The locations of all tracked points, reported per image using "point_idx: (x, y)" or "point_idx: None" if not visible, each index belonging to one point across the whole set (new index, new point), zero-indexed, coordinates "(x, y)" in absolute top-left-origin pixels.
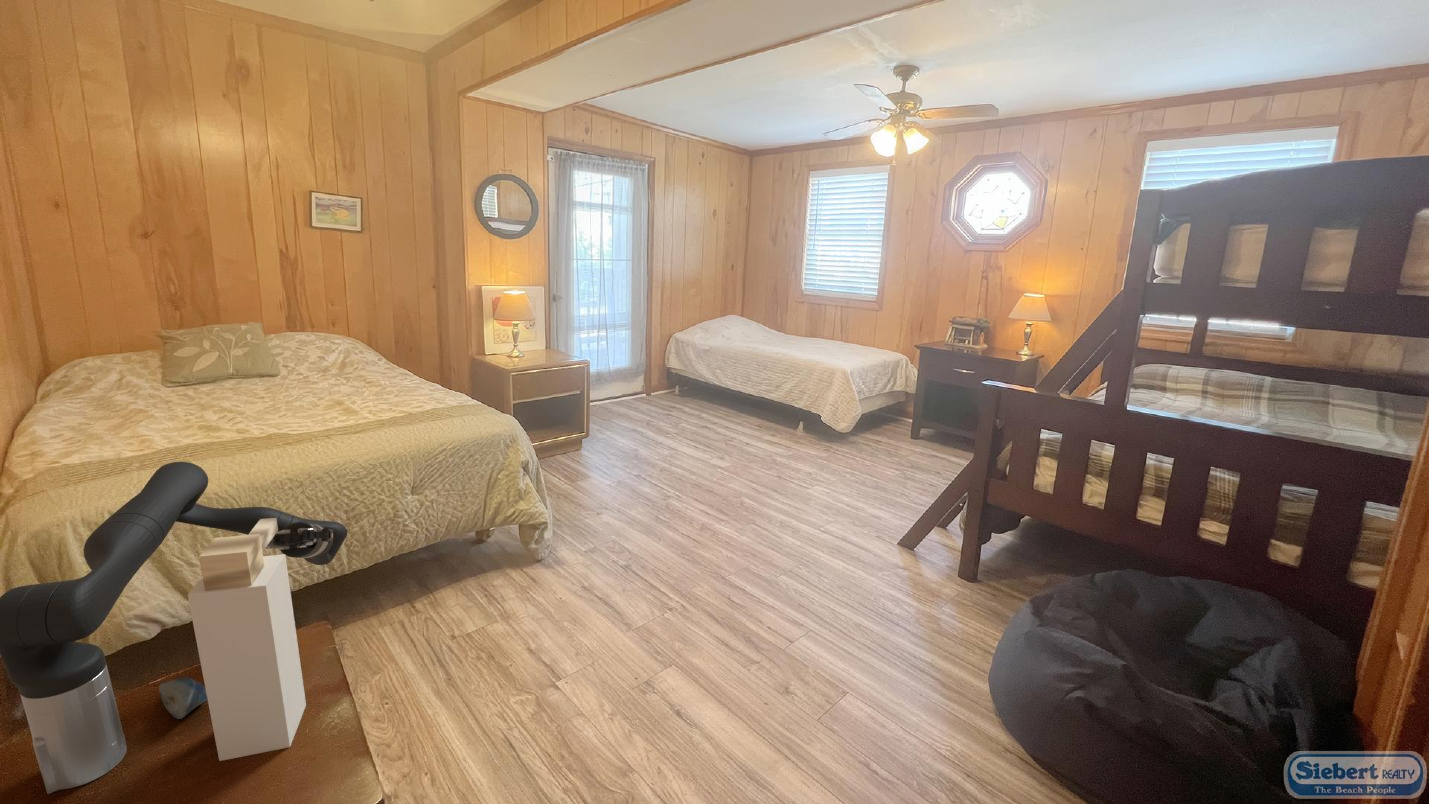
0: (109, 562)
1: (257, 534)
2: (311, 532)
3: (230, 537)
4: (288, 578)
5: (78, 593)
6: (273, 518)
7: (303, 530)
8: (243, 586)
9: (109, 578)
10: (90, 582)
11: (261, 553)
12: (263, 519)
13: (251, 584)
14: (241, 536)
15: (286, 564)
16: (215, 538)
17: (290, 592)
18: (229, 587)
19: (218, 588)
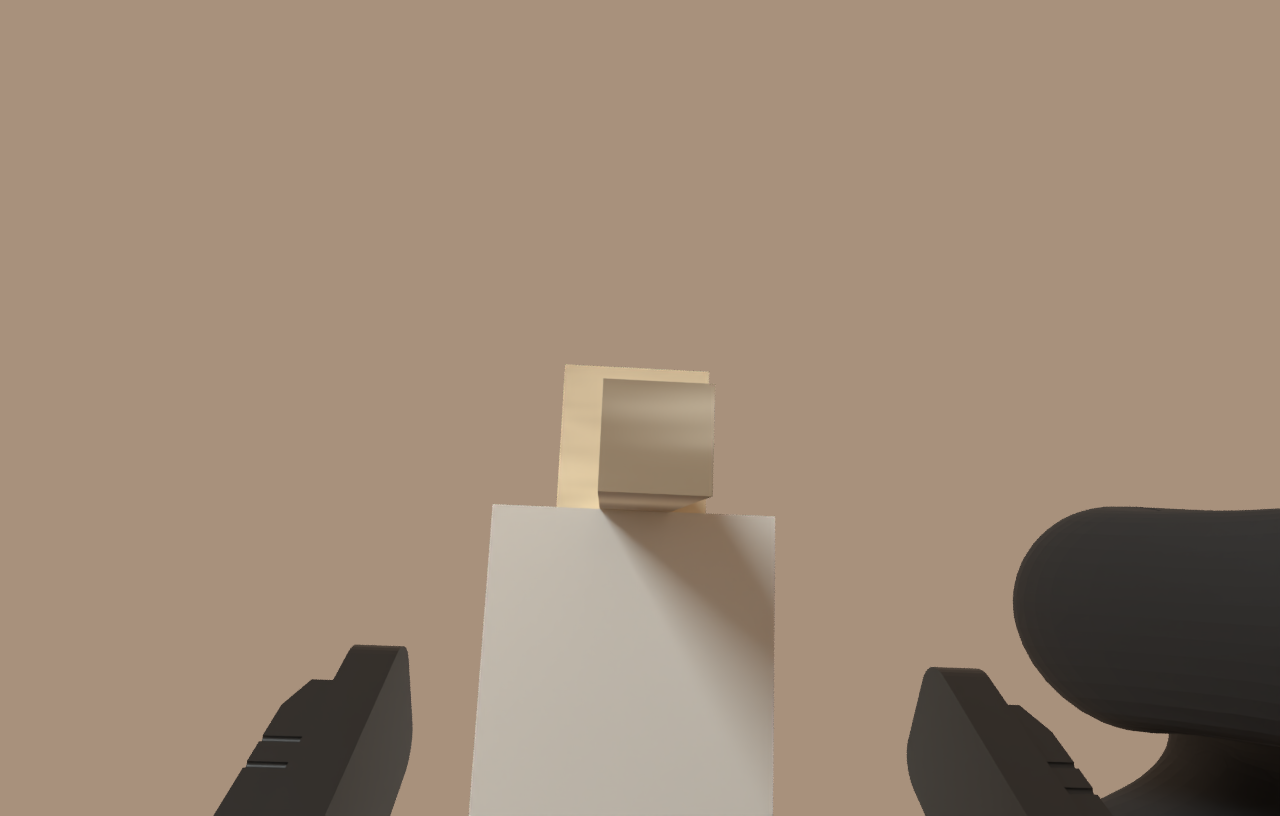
0: (1229, 519)
1: (572, 365)
2: (303, 706)
3: (658, 371)
4: (482, 647)
5: (1052, 526)
6: (621, 381)
7: (401, 650)
8: None
9: (1144, 560)
10: (1086, 520)
11: (561, 446)
12: (687, 384)
13: None
14: (622, 369)
15: (488, 561)
16: (706, 373)
17: (475, 734)
18: None
19: None
